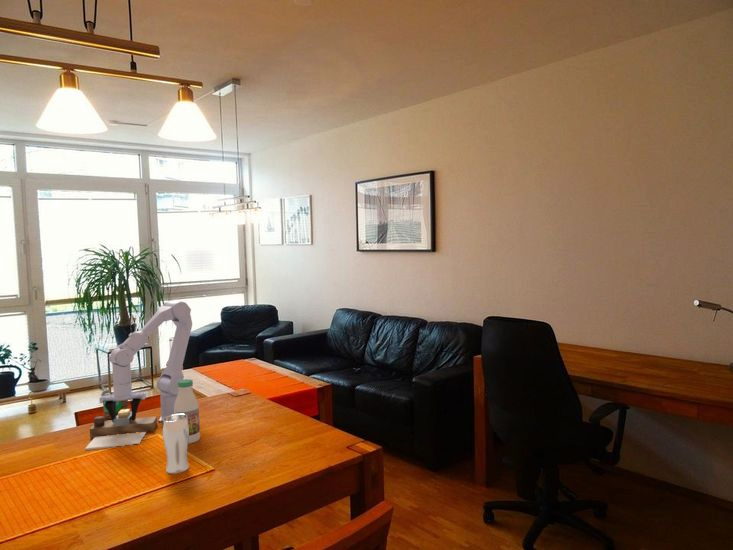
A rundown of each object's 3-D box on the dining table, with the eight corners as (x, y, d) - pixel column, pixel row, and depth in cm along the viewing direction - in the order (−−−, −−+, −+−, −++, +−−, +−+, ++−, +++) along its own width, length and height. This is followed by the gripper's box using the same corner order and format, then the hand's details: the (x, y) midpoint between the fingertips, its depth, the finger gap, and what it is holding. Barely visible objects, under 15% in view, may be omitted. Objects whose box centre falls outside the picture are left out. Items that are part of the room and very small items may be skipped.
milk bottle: (169, 443, 158) (167, 382, 157) (187, 435, 165) (184, 376, 164) (188, 446, 155) (185, 384, 154) (205, 437, 162) (202, 378, 161)
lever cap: (134, 418, 174) (133, 407, 174) (129, 425, 168) (129, 413, 167) (119, 419, 173) (118, 408, 173) (113, 426, 166) (113, 415, 166)
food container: (94, 419, 184) (92, 393, 183) (109, 414, 189) (108, 389, 188) (115, 424, 178) (113, 397, 177) (130, 419, 183) (128, 392, 183)
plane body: (157, 424, 176) (156, 409, 176) (153, 431, 169) (152, 415, 169) (96, 430, 172) (95, 415, 171) (90, 437, 165) (89, 421, 165)
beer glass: (165, 476, 134) (163, 423, 133) (163, 467, 140) (161, 416, 140) (192, 471, 137) (189, 418, 137) (188, 461, 143) (186, 411, 143)
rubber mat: (146, 433, 167) (146, 431, 167) (139, 444, 158) (139, 442, 158) (95, 438, 164) (95, 436, 164) (85, 450, 154) (85, 448, 154)
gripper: (95, 387, 164) (98, 426, 165) (142, 383, 167) (143, 422, 168) (102, 382, 171) (104, 420, 172) (146, 378, 174) (148, 415, 175)
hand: (124, 420), depth 170 cm, fingers open, 6 cm apart
